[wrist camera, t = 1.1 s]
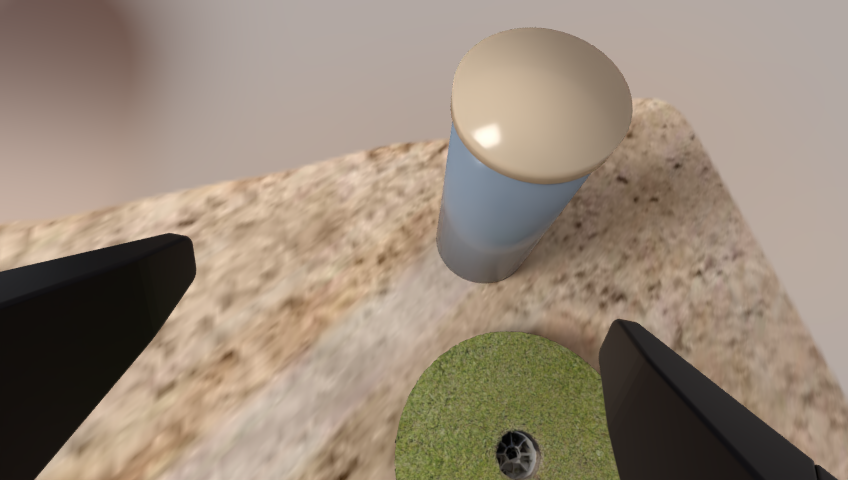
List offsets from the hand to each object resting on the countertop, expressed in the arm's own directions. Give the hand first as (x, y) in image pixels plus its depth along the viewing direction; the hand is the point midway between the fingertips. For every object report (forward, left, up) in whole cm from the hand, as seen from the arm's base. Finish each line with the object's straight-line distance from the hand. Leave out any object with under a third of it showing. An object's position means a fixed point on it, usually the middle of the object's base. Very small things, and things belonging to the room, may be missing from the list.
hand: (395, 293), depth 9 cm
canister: (+4, -8, -14) cm, 17 cm away
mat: (-6, -2, -15) cm, 16 cm away
